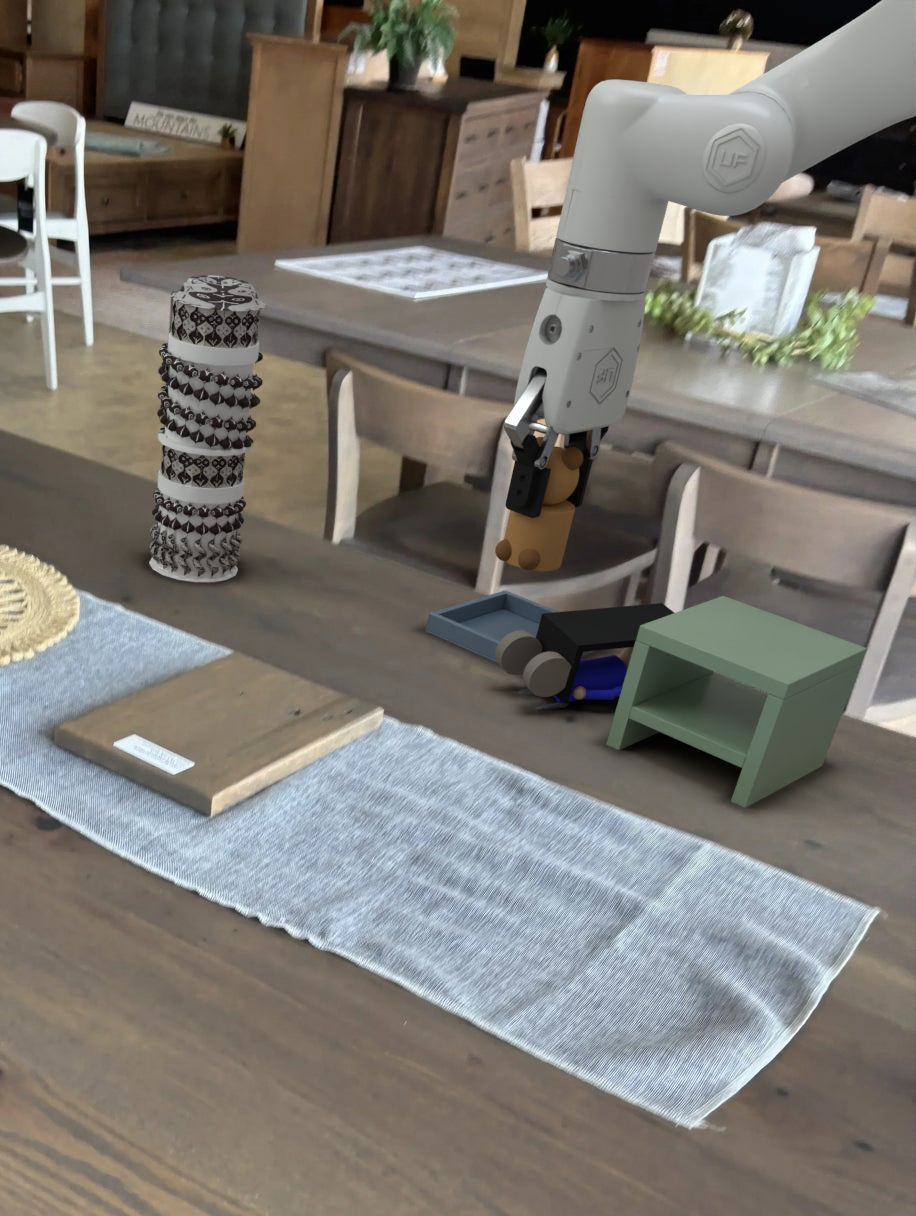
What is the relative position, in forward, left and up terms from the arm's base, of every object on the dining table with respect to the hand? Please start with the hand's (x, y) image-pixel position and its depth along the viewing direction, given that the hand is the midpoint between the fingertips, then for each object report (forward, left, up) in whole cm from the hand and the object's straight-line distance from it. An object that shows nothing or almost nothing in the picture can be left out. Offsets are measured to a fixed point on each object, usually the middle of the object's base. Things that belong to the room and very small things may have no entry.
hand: (543, 505), depth 118 cm
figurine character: (+5, +11, -12) cm, 17 cm away
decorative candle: (+13, -28, -12) cm, 33 cm away
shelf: (+5, +23, -12) cm, 27 cm away
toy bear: (0, 0, -5) cm, 5 cm away
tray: (0, 0, -12) cm, 12 cm away
